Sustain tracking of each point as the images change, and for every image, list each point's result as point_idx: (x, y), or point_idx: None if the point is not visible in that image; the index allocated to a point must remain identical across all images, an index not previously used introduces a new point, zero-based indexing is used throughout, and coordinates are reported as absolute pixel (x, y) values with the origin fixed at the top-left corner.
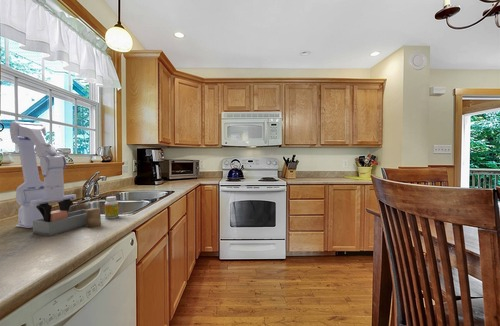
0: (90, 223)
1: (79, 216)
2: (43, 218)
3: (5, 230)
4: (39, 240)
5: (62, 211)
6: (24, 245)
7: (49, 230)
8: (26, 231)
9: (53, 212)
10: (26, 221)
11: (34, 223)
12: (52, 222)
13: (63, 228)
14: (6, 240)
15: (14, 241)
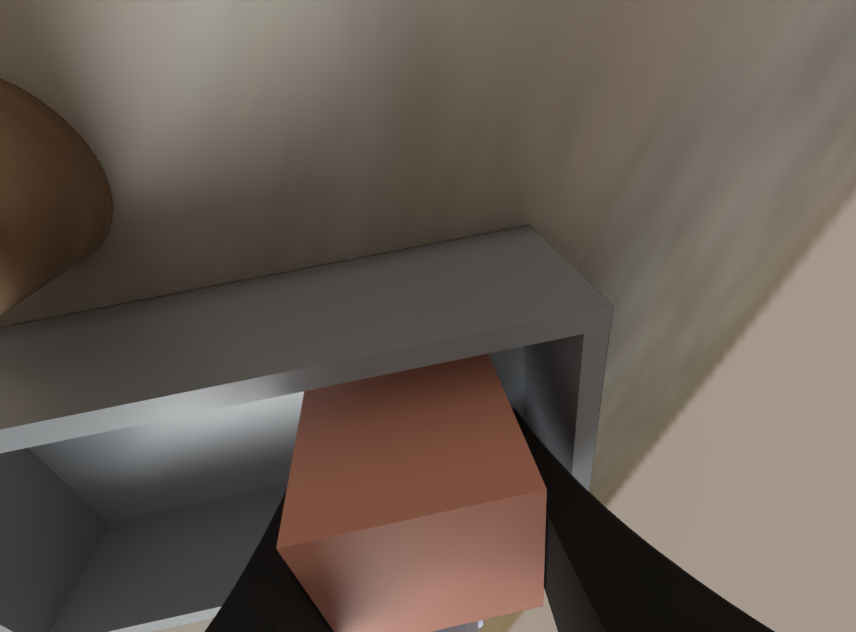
0: (4, 124)
1: (116, 388)
2: None
3: None
4: (649, 157)
5: (356, 547)
6: (792, 112)
7: (553, 251)
8: None
9: (471, 567)
10: (475, 624)
11: None
12: (556, 308)
13: (387, 270)
14: (678, 405)
15: (693, 336)
